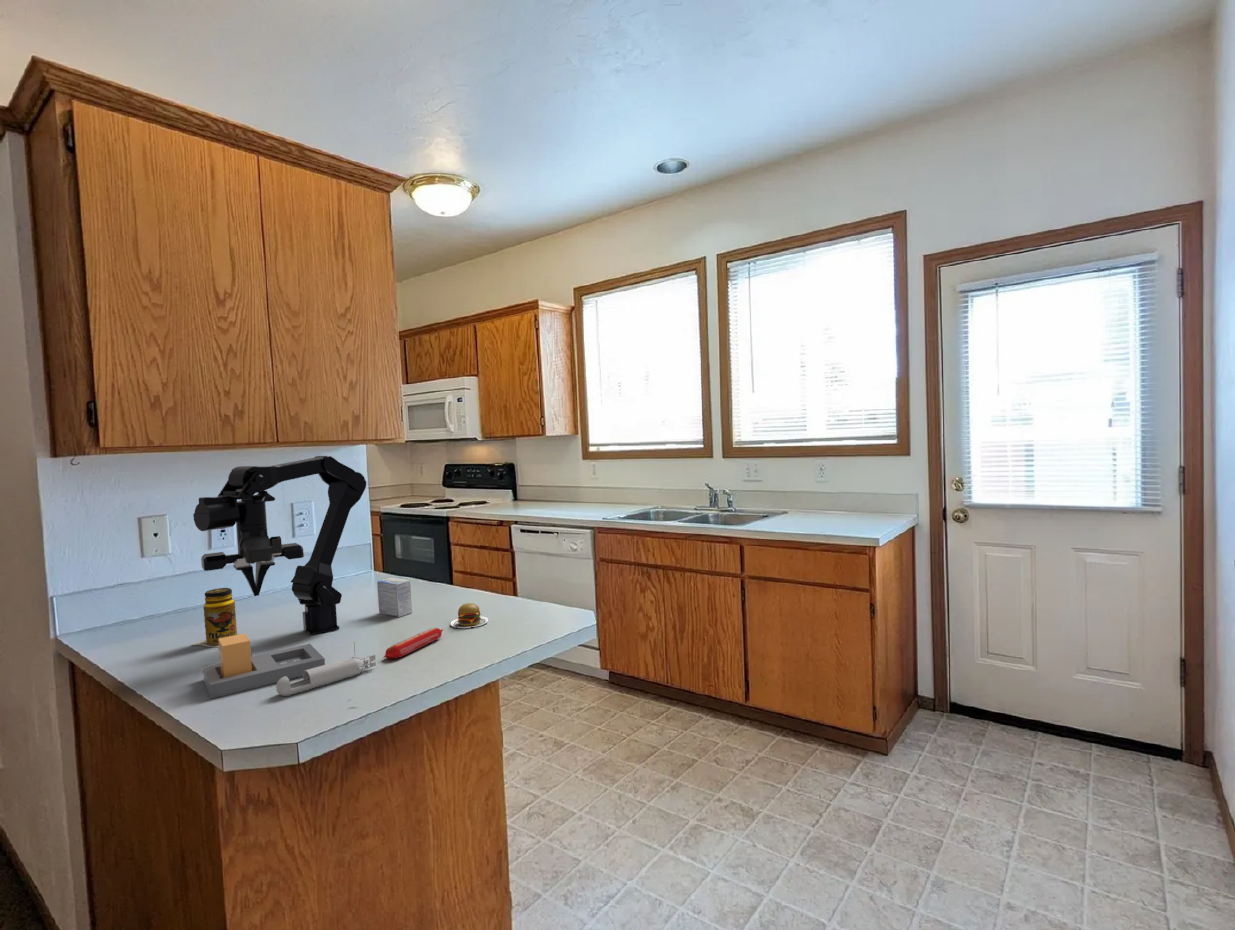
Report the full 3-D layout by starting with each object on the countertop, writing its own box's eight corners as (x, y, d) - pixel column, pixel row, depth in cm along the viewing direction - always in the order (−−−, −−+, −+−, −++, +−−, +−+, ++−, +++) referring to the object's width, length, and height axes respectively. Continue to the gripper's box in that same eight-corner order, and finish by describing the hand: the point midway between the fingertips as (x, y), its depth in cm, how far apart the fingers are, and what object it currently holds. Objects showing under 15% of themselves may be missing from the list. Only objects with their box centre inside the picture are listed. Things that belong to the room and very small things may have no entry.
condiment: (219, 647, 142) (215, 594, 141) (191, 645, 145) (187, 593, 144) (247, 637, 149) (244, 586, 148) (219, 635, 152) (216, 585, 151)
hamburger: (475, 615, 162) (474, 594, 162) (505, 624, 154) (504, 601, 154) (433, 628, 153) (432, 605, 153) (463, 637, 145) (462, 613, 145)
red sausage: (432, 637, 145) (431, 624, 145) (445, 638, 143) (444, 625, 143) (380, 661, 130) (379, 647, 130) (395, 663, 129) (394, 649, 128)
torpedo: (282, 702, 111) (280, 665, 111) (273, 695, 115) (270, 659, 114) (381, 671, 124) (379, 638, 124) (370, 666, 128) (368, 634, 127)
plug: (244, 664, 127) (242, 630, 127) (252, 677, 120) (249, 640, 120) (218, 670, 124) (216, 635, 124) (225, 683, 117) (222, 646, 117)
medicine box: (412, 613, 164) (411, 579, 164) (398, 617, 161) (396, 583, 160) (392, 609, 169) (391, 577, 168) (378, 613, 165) (376, 580, 164)
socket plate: (310, 655, 135) (309, 643, 135) (325, 670, 125) (324, 658, 125) (203, 679, 123) (202, 666, 123) (211, 698, 114) (210, 684, 113)
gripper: (204, 533, 126) (210, 611, 127) (307, 522, 137) (311, 594, 138) (198, 527, 135) (203, 601, 135) (295, 518, 146) (300, 585, 147)
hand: (256, 595), depth 139 cm, fingers closed
